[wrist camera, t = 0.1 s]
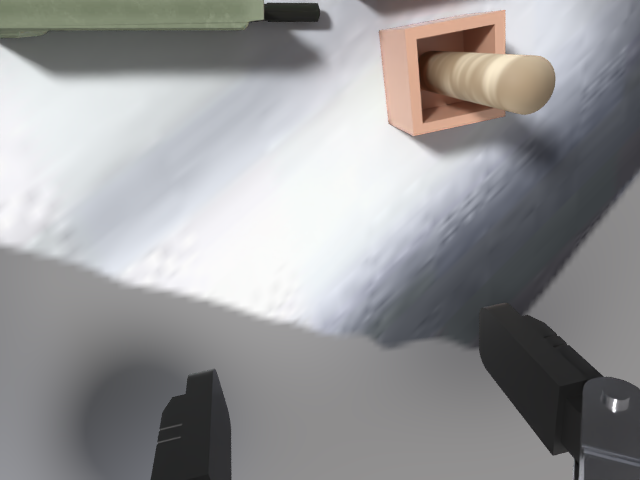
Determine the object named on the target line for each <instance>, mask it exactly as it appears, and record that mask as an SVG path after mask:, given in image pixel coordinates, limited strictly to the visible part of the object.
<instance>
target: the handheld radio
mask: <svg viewBox="0 0 640 480" xmlns="http://www.w3.org/2000/svg"><path fill="white" fill-rule="evenodd" d="M319 16H320V9H319V6H318V3H267V4H264V0H0V38H21V37H32V36H42V35H44V34H45V33H47V32H48V31H82V30H245V29H246V27H247V26H248V24H249V22H256V21H268V22H318V19H319Z"/></svg>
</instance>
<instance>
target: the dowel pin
mask: <svg viewBox="0 0 640 480" xmlns="http://www.w3.org/2000/svg"><path fill="white" fill-rule="evenodd" d="M418 67H419V81H420V89H422V90H425V91H429V92H433V93H437V94H441V95H445V96H449V97H453V98H457V99H461V100H465V101H469V102H473V103H477V104H481V105H485V106H489V107H493V108H497V109H501V110H505V111H509V112H513V113H517V114H522V115H526V114H531V113H534V112H536V111H538V110H539V109H541V108H542V107H543V106H544V105H545V104H546V103H547V102H548V100H549V99H550V97H551V95H552V93H553V90H554V87H555V72H554V69H553V66H552V65H551V63H550V62H549V61H548V60H547V59H545V58H543V57H541V56H533V55H512V54H492V53H472V52H451V51H427V52H425V53H423V54H422V55H421V56H420V57H419V58H418Z"/></svg>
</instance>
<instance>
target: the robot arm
mask: <svg viewBox="0 0 640 480" xmlns="http://www.w3.org/2000/svg"><path fill="white" fill-rule="evenodd" d="M479 351H480V356H481V359H482V362H483V364H484V366H485V368H486V370H487V371H488V372H489V374H490V375H491V376H492V378H493V379H494V380H495V381H496V383H497V384H498V385H499V387H500V388H501V389H502V390H503V392H504V393H505V394H506V396H507V397H508V398H509V400H510V401H511V402H512V403H513V405H514V406H515V407H516V409H517V410H518V411H519V413H520V414H521V415H522V416H523V418H524V419H525V420H526V421H527V423H528V424H529V425H530V427H531V428H532V429H533V431H534V432H535V433H536V435H537V436H538V437H539V438H540V440H541V441H542V442H543V444H544V445H545V446H546V447H547V449H548V450H549V451H550V453H551V454H552V455H557V454H561V453H565V452H569V453H570V454H571V455H572V456H573V457H574V464H573V480H640V389H639V388H638V387H636V386H635V385H633V384H631V383H629V382H627V381H624V380H621V379H617V378H612V377H603V376H602V375H601V374H600V373H599V372H598V371H597V370H596V369H595V368H594V367H592V366H591V365H590V364H589V363H588V362H587V361H586V360H585V359H583V358H582V357H581V356H580V355H579V354H578V353H577V352H576V351H575V350H574V349H573V348H571V347H570V346H569V345H567V344H566V342H565V341H564V340H563V339H562V338H561V337H559V336H557V334H556V333H555V332H554V331H553V330H552V329H551V328H550V327H548V326H547V325H546V324H545V323H544V322H542V321H539V320H537V319H535V318H533V317H531V316H529V315H525V316H521V315H520V314H519V313H518V312H517V311H516V310H515V309H514V308H512V307H511V306H510V305H509V304H508V303H501V304H497V305H493V306H488V307H484V308H481V310H480V313H479ZM151 480H231V424H230V418H229V412H228V408H227V405H226V402H225V398H224V395H223V391H222V388H221V385H220V381H219V378H218V375H217V372H216V370H215V369H211V370H207V371H202V372H198V373H194V374H190V375H188V379H187V388H186V394H184V395H180V396H176V397H172V399H171V400H170V402H169V403H168V405H167V406H166V408H165V409H164V411H163V413H162V418H161V424H160V431H159V436H158V444H157V447H156V453H155V458H154V464H153V470H152V476H151Z"/></svg>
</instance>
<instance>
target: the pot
mask: <svg viewBox="0 0 640 480" xmlns="http://www.w3.org/2000/svg"><path fill="white" fill-rule="evenodd" d="M379 36H380V46H381V55H382V65H383V74H384V84H385V93H386V103H387V112H388V122H389V124H391V125H393V126H395V127H397V128H399V129H401V130H403V131H404V132H406V133H408V134H410V135H412V136H416V135H421V134H426V133H430V132H435V131H440V130H444V129H449V128H453V127H458V126H463V125H467V124H472V123H477V122H481V121H486V120H491V119H495V118H500V117H504V116H505V110H501V109H497V108H493V107H489V106H485V105H481V104H477V103H473V102H469V101H465V100H461V99H457V98H453V97H449V96H445V95H441V94H437V93H433V92H429V91H425V90H422V89H420V81H419V67H418V58H419V57H420V56H421V55H422V54H423V53H425V52H427V51H451V52H472V53H492V54H505V10H500V11H491V12H481V13H472V14H464V15H459V16H454V17H448V18H443V19H438V20H433V21H427V22H422V23H417V24H412V25H406V26H401V27H396V28H390V29H385V30H380V31H379Z"/></svg>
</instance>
